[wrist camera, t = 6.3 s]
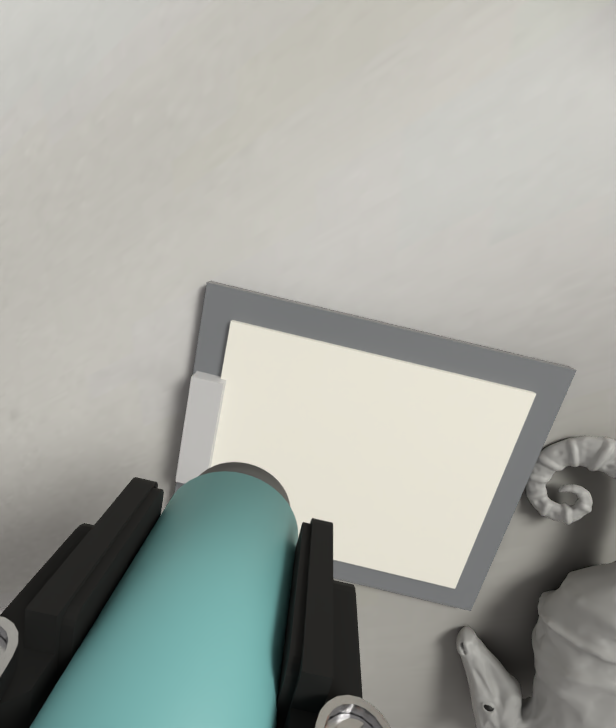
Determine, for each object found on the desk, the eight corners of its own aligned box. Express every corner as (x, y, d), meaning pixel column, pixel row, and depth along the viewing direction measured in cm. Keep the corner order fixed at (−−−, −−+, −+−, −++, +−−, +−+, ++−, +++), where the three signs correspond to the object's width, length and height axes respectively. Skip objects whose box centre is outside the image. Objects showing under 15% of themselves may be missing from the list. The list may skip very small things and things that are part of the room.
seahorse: (450, 441, 21) (453, 781, 24) (761, 466, 17) (720, 887, 19) (459, 415, 26) (460, 702, 29) (704, 428, 21) (678, 772, 24)
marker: (315, 467, 12) (256, 1257, 3) (287, 572, 13) (178, 1388, 4) (184, 437, 12) (-326, 1130, 3) (168, 545, 13) (-237, 1305, 4)
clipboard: (569, 366, 21) (587, 376, 19) (467, 602, 25) (475, 624, 24) (210, 281, 21) (200, 284, 19) (171, 531, 25) (161, 548, 24)
